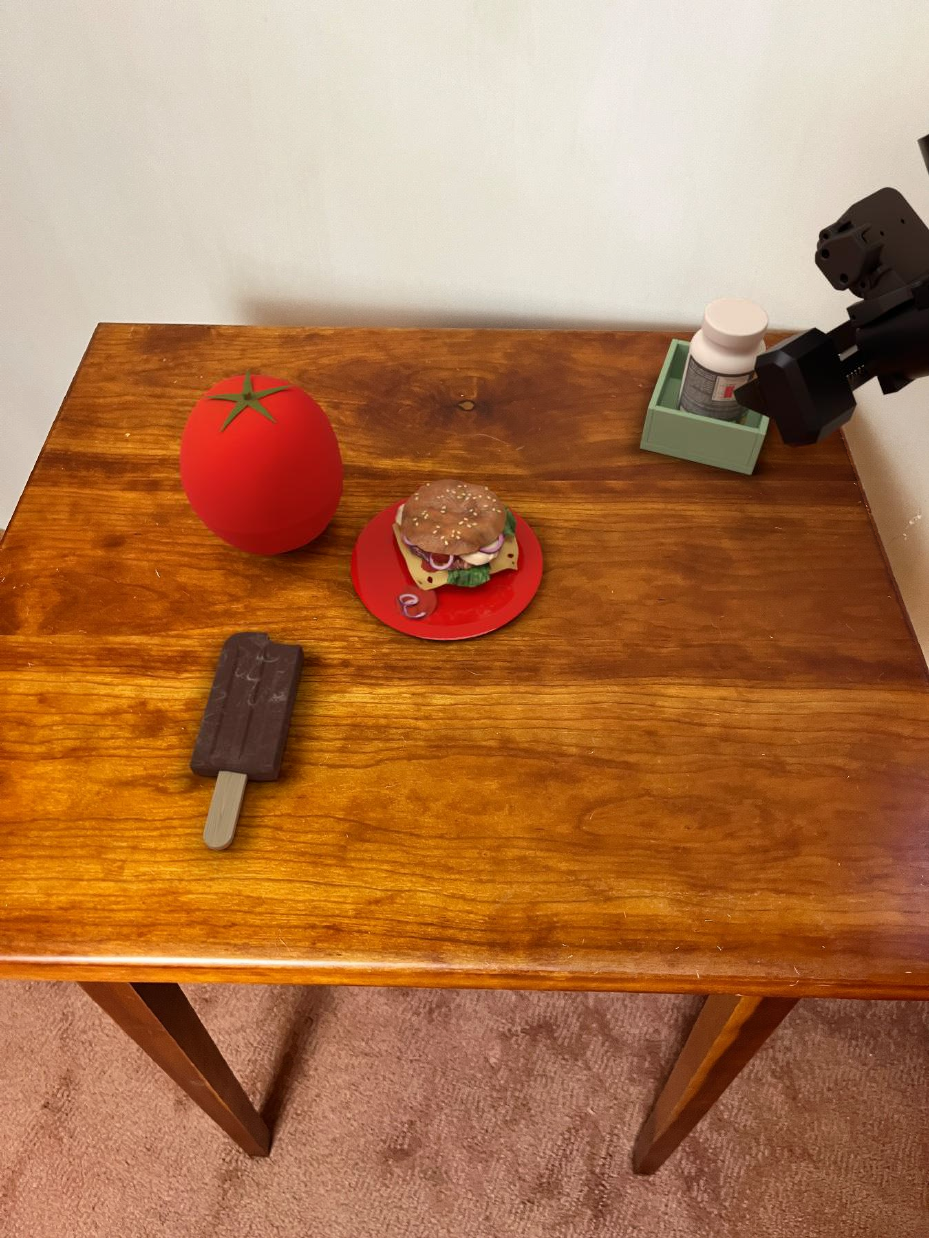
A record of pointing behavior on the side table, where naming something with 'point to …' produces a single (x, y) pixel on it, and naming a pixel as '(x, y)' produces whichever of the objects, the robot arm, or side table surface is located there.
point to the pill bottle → (722, 359)
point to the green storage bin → (698, 425)
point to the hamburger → (447, 562)
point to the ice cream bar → (245, 724)
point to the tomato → (261, 464)
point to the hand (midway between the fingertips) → (779, 370)
